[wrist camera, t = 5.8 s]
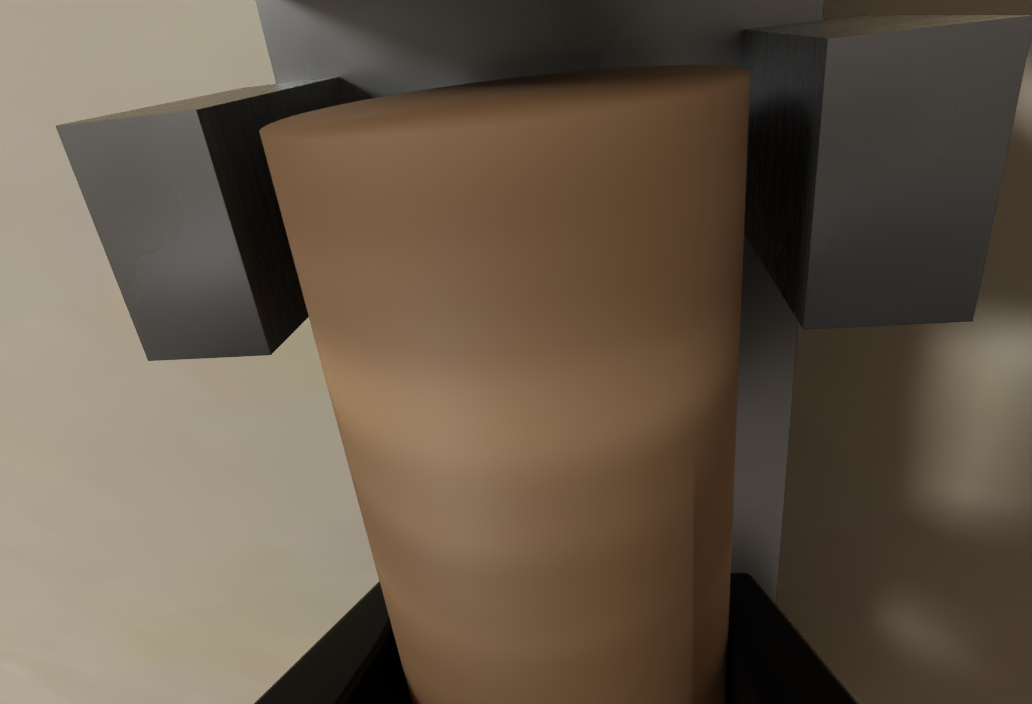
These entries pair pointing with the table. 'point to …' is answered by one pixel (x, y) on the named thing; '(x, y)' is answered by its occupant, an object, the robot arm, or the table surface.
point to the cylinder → (535, 369)
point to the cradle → (589, 46)
